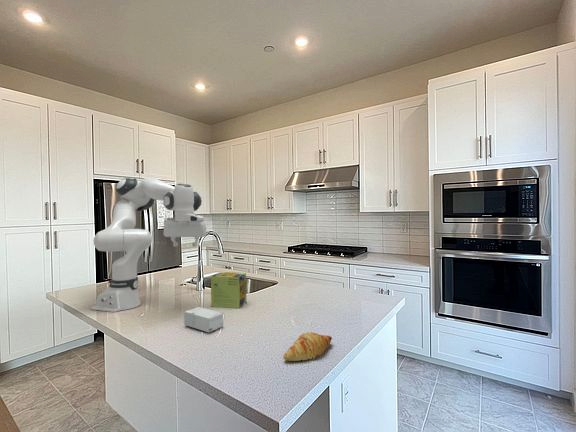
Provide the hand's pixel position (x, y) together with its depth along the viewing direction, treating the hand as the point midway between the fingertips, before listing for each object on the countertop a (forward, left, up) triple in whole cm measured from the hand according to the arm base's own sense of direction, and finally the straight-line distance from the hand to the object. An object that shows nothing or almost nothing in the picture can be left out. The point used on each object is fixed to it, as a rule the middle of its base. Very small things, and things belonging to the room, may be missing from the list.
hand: (185, 246), depth 144 cm
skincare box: (+9, -15, -28) cm, 33 cm away
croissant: (+60, -37, -32) cm, 77 cm away
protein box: (+18, +11, -31) cm, 38 cm away
